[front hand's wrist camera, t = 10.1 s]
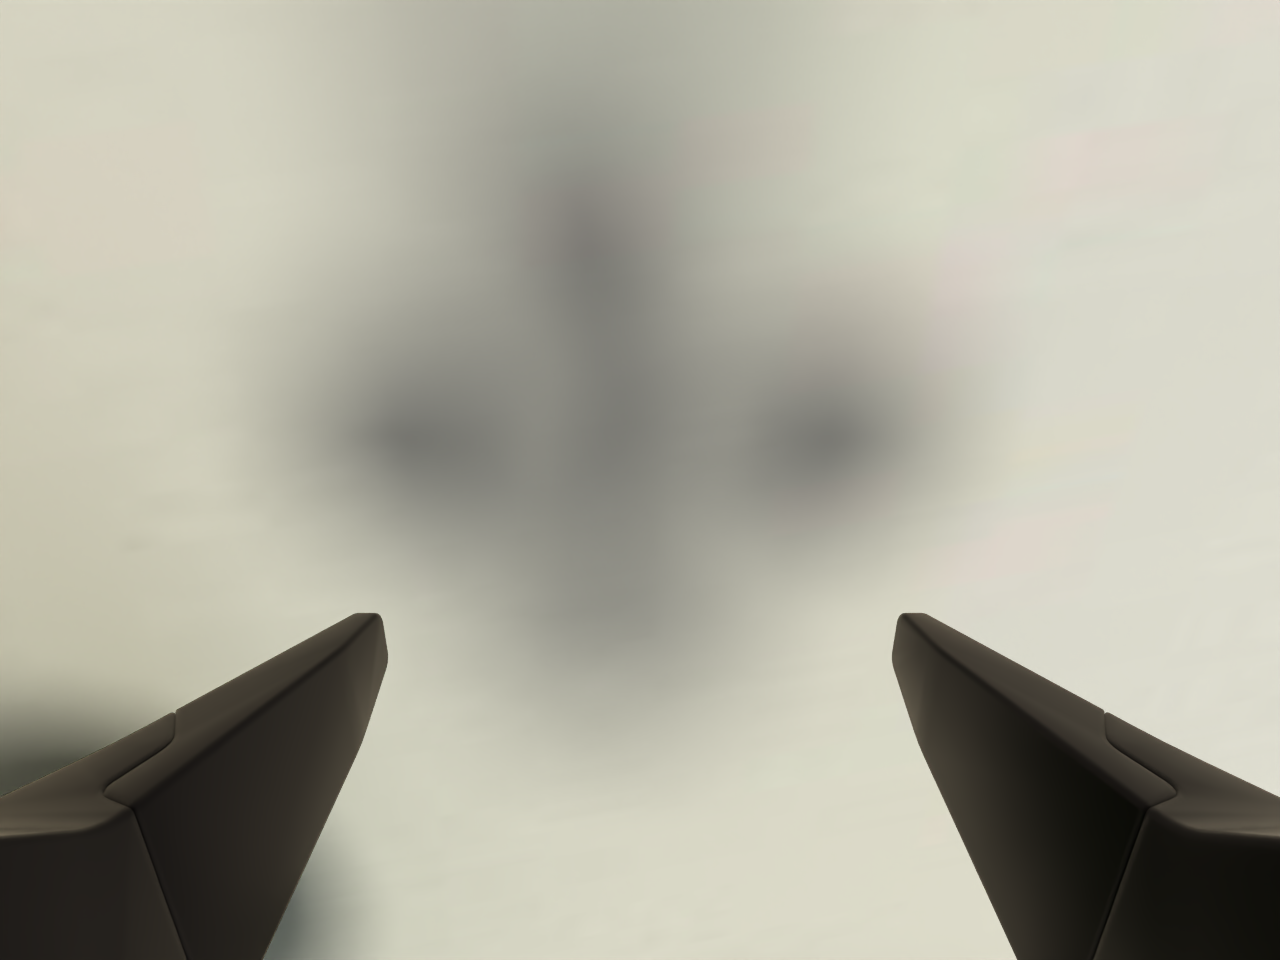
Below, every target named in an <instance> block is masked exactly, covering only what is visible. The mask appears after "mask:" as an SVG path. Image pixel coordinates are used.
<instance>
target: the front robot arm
mask: <svg viewBox="0 0 1280 960" xmlns="http://www.w3.org/2000/svg"><path fill="white" fill-rule="evenodd" d="M387 663H388V651H387V645H386V638H385V632H384V626H383V621H382V618H381V616H380V615H379V614H377V613H356V614H353V615H351V616H349V617H347V618H346V619H344V620H342V621H340V622H338V623H336V624H334V625H333V626H331V627H329V628H327V629H325V630H323V631H321V632H320V633H318V634H316V635H314V636H312V637H310V638H309V639H307V640H305V641H303V642H301V643H299V644H297V645H296V646H294V647H292V648H290V649H288V650H286V651H285V652H283V653H281V654H279V655H277V656H275V657H273V658H272V659H270V660H268V661H266V662H264V663H262V664H260V665H259V666H257V667H255V668H253V669H251V670H249V671H248V672H246V673H244V674H242V675H240V676H238V677H236V678H235V679H233V680H231V681H229V682H227V683H225V684H223V685H222V686H220V687H218V688H216V689H214V690H212V691H211V692H209V693H207V694H205V695H203V696H201V697H199V698H198V699H196V700H194V701H192V702H190V703H188V704H186V705H185V706H183V707H181V708H179V709H177V710H176V714H175V713H173V712H172V713H170V714H168V715H166V716H164V717H162V718H160V719H159V720H157V721H155V722H153V723H151V724H149V725H147V726H145V727H144V728H142V729H140V730H138V731H136V732H134V733H132V734H130V735H128V736H126V737H124V738H122V739H121V740H119V741H117V742H115V743H113V744H111V745H109V746H107V747H105V748H102V749H100V750H98V751H96V752H94V753H92V754H90V755H88V756H86V757H84V758H82V759H80V760H78V761H76V762H74V763H72V764H70V765H67V766H65V767H63V768H61V769H59V770H57V771H55V772H53V773H51V774H48V775H46V776H44V777H42V778H40V779H38V780H36V781H34V782H32V783H29V784H27V785H25V786H23V787H21V788H19V789H17V790H15V791H13V792H11V793H8V794H6V795H4V796H2V797H0V960H263V958H264V956H265V954H266V951H267V949H268V947H269V945H270V943H271V940H272V938H273V936H274V934H275V932H276V930H277V927H278V925H279V923H280V921H281V919H282V917H283V914H284V912H285V910H286V908H287V906H288V903H289V901H290V899H291V897H292V895H293V893H294V890H295V888H296V886H297V884H298V882H299V879H300V877H301V875H302V873H303V871H304V869H305V866H306V864H307V862H308V860H309V858H310V856H311V853H312V851H313V849H314V847H315V845H316V842H317V840H318V838H319V836H320V834H321V832H322V829H323V827H324V825H325V823H326V821H327V819H328V816H329V814H330V812H331V810H332V808H333V805H334V803H335V801H336V799H337V797H338V795H339V792H340V790H341V788H342V786H343V784H344V781H345V779H346V777H347V775H348V773H349V771H350V768H351V766H352V764H353V762H354V760H355V758H356V755H357V753H358V751H359V748H360V746H361V744H362V741H363V738H364V735H365V732H366V730H367V726H368V723H369V720H370V717H371V714H372V711H373V708H374V705H375V702H376V699H377V696H378V693H379V689H380V686H381V683H382V680H383V677H384V674H385V671H386V668H387ZM892 663H893V668H894V671H895V674H896V677H897V680H898V683H899V686H900V689H901V693H902V696H903V699H904V702H905V705H906V708H907V711H908V714H909V717H910V720H911V723H912V726H913V730H914V732H915V735H916V738H917V741H918V744H919V746H920V748H921V751H922V753H923V755H924V758H925V760H926V762H927V764H928V766H929V768H930V771H931V773H932V775H933V777H934V779H935V781H936V784H937V786H938V788H939V790H940V792H941V795H942V797H943V799H944V801H945V803H946V805H947V808H948V810H949V812H950V814H951V816H952V819H953V821H954V823H955V825H956V827H957V829H958V832H959V834H960V836H961V838H962V840H963V842H964V845H965V847H966V849H967V851H968V853H969V856H970V858H971V860H972V862H973V864H974V866H975V869H976V871H977V873H978V875H979V877H980V880H981V882H982V884H983V886H984V888H985V890H986V893H987V895H988V897H989V899H990V901H991V903H992V906H993V908H994V910H995V912H996V914H997V917H998V919H999V921H1000V923H1001V925H1002V927H1003V930H1004V932H1005V934H1006V936H1007V938H1008V941H1009V943H1010V945H1011V947H1012V949H1013V951H1014V954H1015V956H1016V958H1017V960H1280V797H1278V796H1276V795H1274V794H1272V793H1269V792H1267V791H1265V790H1263V789H1261V788H1259V787H1257V786H1255V785H1253V784H1251V783H1248V782H1246V781H1244V780H1242V779H1240V778H1238V777H1236V776H1234V775H1232V774H1229V773H1227V772H1225V771H1223V770H1221V769H1219V768H1217V767H1215V766H1213V765H1210V764H1208V763H1206V762H1204V761H1202V760H1200V759H1198V758H1196V757H1194V756H1192V755H1190V754H1188V753H1186V752H1184V751H1182V750H1180V749H1178V748H1175V747H1173V746H1171V745H1169V744H1167V743H1165V742H1163V741H1161V740H1159V739H1158V738H1156V737H1154V736H1152V735H1150V734H1148V733H1146V732H1144V731H1142V730H1140V729H1138V728H1136V727H1135V726H1133V725H1131V724H1129V723H1127V722H1125V721H1123V720H1121V719H1120V718H1118V717H1116V716H1114V715H1112V714H1110V713H1108V712H1107V713H1105V714H1104V710H1103V709H1101V708H1099V707H1097V706H1095V705H1094V704H1092V703H1090V702H1088V701H1086V700H1084V699H1082V698H1081V697H1079V696H1077V695H1075V694H1073V693H1071V692H1070V691H1068V690H1066V689H1064V688H1062V687H1060V686H1058V685H1057V684H1055V683H1053V682H1051V681H1049V680H1047V679H1045V678H1044V677H1042V676H1040V675H1038V674H1036V673H1034V672H1032V671H1031V670H1029V669H1027V668H1025V667H1023V666H1021V665H1020V664H1018V663H1016V662H1014V661H1012V660H1010V659H1008V658H1007V657H1005V656H1003V655H1001V654H999V653H997V652H995V651H994V650H992V649H990V648H988V647H986V646H984V645H983V644H981V643H979V642H977V641H975V640H973V639H971V638H970V637H968V636H966V635H964V634H962V633H960V632H958V631H957V630H955V629H953V628H951V627H949V626H947V625H946V624H944V623H942V622H940V621H938V620H936V619H934V618H933V617H931V616H929V615H927V614H924V613H903V614H901V615H900V616H899V618H898V621H897V626H896V632H895V638H894V645H893V651H892Z"/></svg>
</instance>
